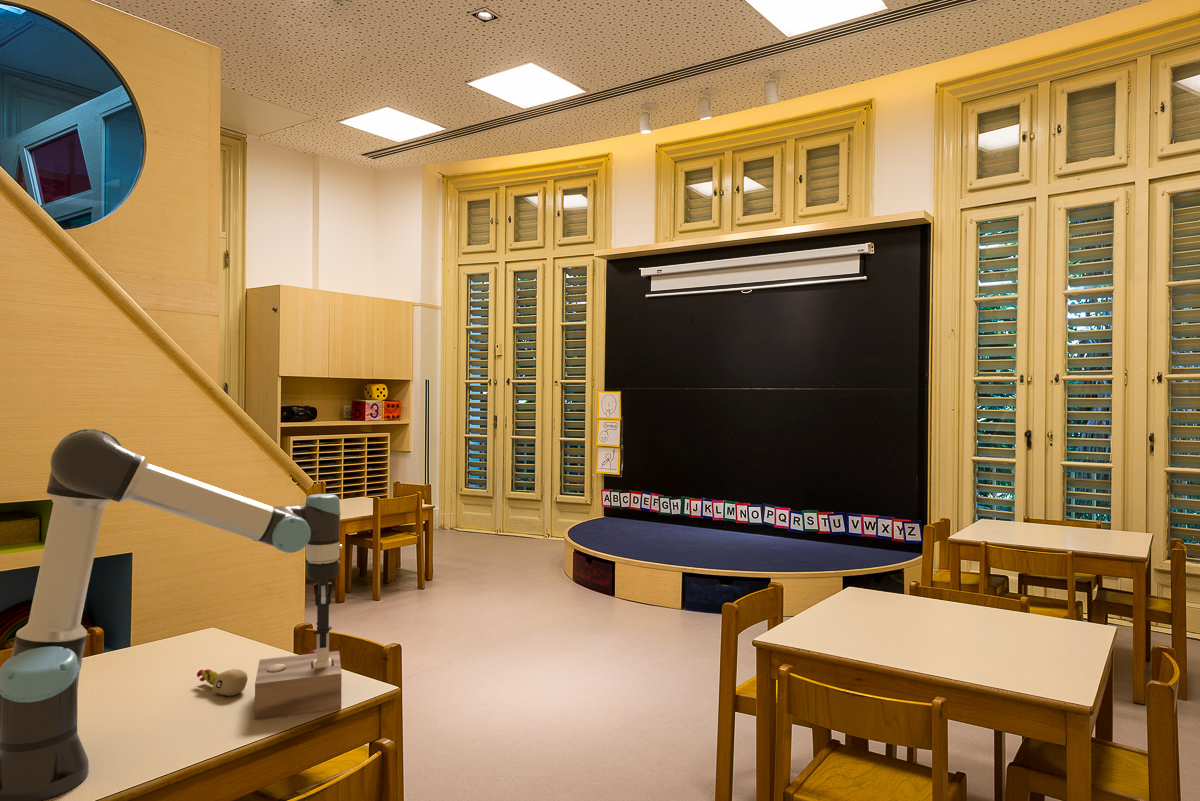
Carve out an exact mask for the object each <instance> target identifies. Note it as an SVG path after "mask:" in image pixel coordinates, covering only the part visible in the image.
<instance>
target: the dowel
mask: <svg viewBox="0 0 1200 801" xmlns="http://www.w3.org/2000/svg"><path fill="white" fill-rule="evenodd" d="M330 666H331V659H330V658H329V660H325V661H317V659H316V660H314V661H313V668H321V667H330Z"/></svg>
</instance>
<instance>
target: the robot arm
mask: <svg viewBox="0 0 1200 801" xmlns="http://www.w3.org/2000/svg"><path fill="white" fill-rule="evenodd" d="M45 494H46V495H47V497H48V498H49V499H50V500H51V501H52V503H53V504H52V510H51V514H50V518H49V522H48V528H47V532H46V537H45V542H44V547H43V552H42V555H41V562H40V566H39V568H38V570H39V571H38V573H37V574H38V575H37V581H36V585H35V588H34V594H33V599H32V603H31V607H30V612H29V616H28V617H29V618H28V621H27V623H26V624H25V625H24V626H23V627H20V628H19V629H18V630H17V631H16V634H15V638H14V643H13V646H12V652H11V655H10V656H11V657H9V658H8V659H6V660H5V661H4V662H3V663H2V665H1V666H0V801H41V800H42V801H46V800H47V799H51V798H55V797H56V796H59V795H61V794H64V793H66V792H69V791H70V790H72V789H74V788H76V787H77V786H78V785H80V784H82V782H84V781H85V780H86V778H87V777H88V775H89V768H90V767H89V765H90V764H89V758H88V756H87V753H86V750H85V748H84V746H83V743H82V742H81V738H80V736H79V734H78V692H79V691H78V690H79V679H80V673H81V668H82V664H83V656H84V651H85V646H86V641H87V637H88V636H87V635H88V630H87V629H86V628H85V627H84V626H83V625H82V624H81V623H82V618H83V612H84V609H85V602H86V599H87V593H88V589H89V588H88V587H89V583H90V580H91V574H92V570H93V569H92V568H93V564H94V559H95V555H96V554H95V553H96V549H97V545H98V539H99V535H100V530H101V526H102V521H103V516H104V511H105V507H106V506H107V505H108V504H110V503H111V502H113V501H114V502H117V503H124V502H126V501H132V502H134V503H135V502H136V503H139V504H142V505H145V506H148V507H151V508H155V509H157V510H161V511H162V512H167V513H170V514H173V515H176V516H179V517H183V518H185V519H189V520H191V521H195V522H197V523H201V524H204V525H207V526H209V527H210V526H211V527H214V528H217V529H220V530H223V531H226V532H228V533H232V534H235V535H239V536H242V537H245V538H247V539H251V540H252V541H253V542H260V543H262V544H266V545H269V546H272V547H274V548H277V550H279V551H280V552H285V553H287V554H288V553H289V554H291V553H296V552H299V551H301V550H303V549H304V548H305V560H306V563H305V577H306V578H307V579H309V580H313V581H314V580H316V581H317V583H314V584H313V585H314V586H313V593H314V599H315V600H314V601H315V602H314V603H315V606H316V610H317V611H316V612H317V613H316V614H317V615H316V616H317V618H316V630H314V631H313V634H314V635H316V649H317V661H325V660H329V652H330V631H331V630H332V626H331V625H330V622H329V621H330V619H329V618H330V616H329V615H330V605H331V603H332V602H331V601H332V596H331V595H332V593H333V585H332V582H329V580H330V579H335V578H337V577H339V576H340V574H341V561H340V560H339V558H340V552H341V550H342V549H343V548H344V547H343V545H342V544H341V543H340V542H341V541H340V539H341V537H340V535H341V533H340V532H341V514H342V513H341V504H340V497H339V496H338V495H336V494H333V493H316V494H310V495H307V496H306V497H305V498H306V499H305V500H306V501H305V503H304V504H299V505H297V504H296V505H284V506H283V505H281V506H271V505H268V504H265V503H262V502H259V501H256V500H253V499H251V498H247V497H245V496H241V495H240V494H236V493H233V492H231V491H228V490H225V489H222V488H219V487H216V486H214V485H210V484H208V483H205V482H202V481H200V480H197V479H193V478H190V477H188V476H185V475H182V474H180V473H178V472H177V473H176V472H174V471H171V470H168V469H165V468H163V467H159V466H156V465H154V464H151V463H148V461H147V459H146V457H145V456H144V455H141V454H140V453H135V452H133V451H131V450H128V449H127V448H125V447H123V446H122V444H121V443H120V442H119V440H118V439H117V438H116V437H115V436H113V435H112V434H110V433H108V432H106V431H104V430H98V429H95V428H94V429H92V428H91V429H90V428H87V429H79V430H76V431H73V432H71V433H69V434H68V435H66V436H65V437H64V438H62V439H61V441H59V443H58V444H57V446H56V447H55V448H54V450H53V452H52V454H51V457H50V474H49V477H48V483H47V487H46V493H45Z"/></svg>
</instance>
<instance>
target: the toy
mask: <svg viewBox="0 0 1200 801" xmlns="http://www.w3.org/2000/svg"><path fill="white" fill-rule="evenodd" d="M196 676H197V678H199V681H200V682H205V681H206V682H207V683H208V684H209V685H211V686H212V688H211V690H212V692H213V694H215V695H218V696H219V695H222V696H227V697H229V696H230V697H231V696H236V695H239V694H241V693H242V692H244V690H245V688H246V685H247V683H248V674H247V672H246V671H244V670H242V669H238V668H234V669H229V670H225V671H224V670H223V671H222V672H220V673H218V672H217V671H214V670H211V669H199V670H198V671H197V673H196Z"/></svg>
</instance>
